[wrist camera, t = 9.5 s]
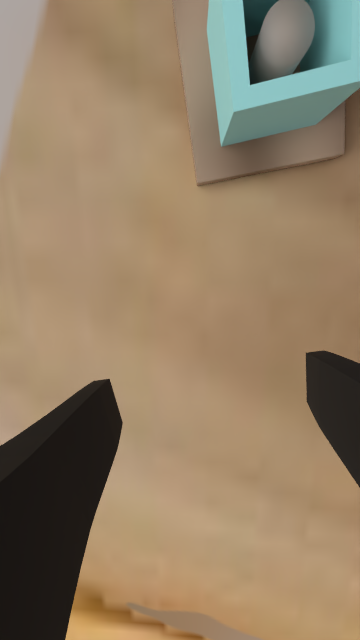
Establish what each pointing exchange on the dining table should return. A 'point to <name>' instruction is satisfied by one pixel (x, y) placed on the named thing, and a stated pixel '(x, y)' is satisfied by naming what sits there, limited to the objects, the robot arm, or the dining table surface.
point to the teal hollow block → (289, 91)
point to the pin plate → (208, 119)
